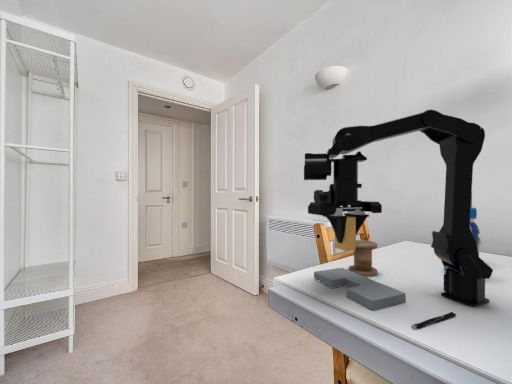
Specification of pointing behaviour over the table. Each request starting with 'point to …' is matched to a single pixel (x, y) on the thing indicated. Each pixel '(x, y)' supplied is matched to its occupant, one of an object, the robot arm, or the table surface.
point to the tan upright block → (348, 236)
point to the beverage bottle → (473, 229)
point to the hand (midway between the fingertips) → (345, 242)
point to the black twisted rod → (433, 321)
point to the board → (361, 288)
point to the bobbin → (364, 259)
